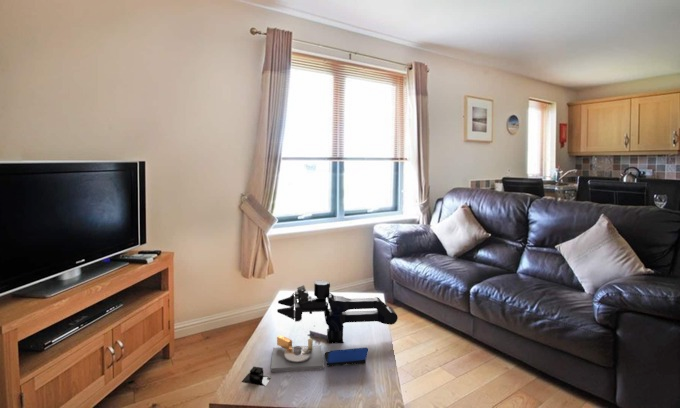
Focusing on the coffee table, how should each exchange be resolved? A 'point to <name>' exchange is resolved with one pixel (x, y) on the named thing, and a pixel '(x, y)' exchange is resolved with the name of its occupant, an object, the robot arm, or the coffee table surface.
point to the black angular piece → (256, 377)
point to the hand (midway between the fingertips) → (277, 306)
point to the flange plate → (293, 350)
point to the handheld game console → (346, 357)
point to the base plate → (311, 364)
